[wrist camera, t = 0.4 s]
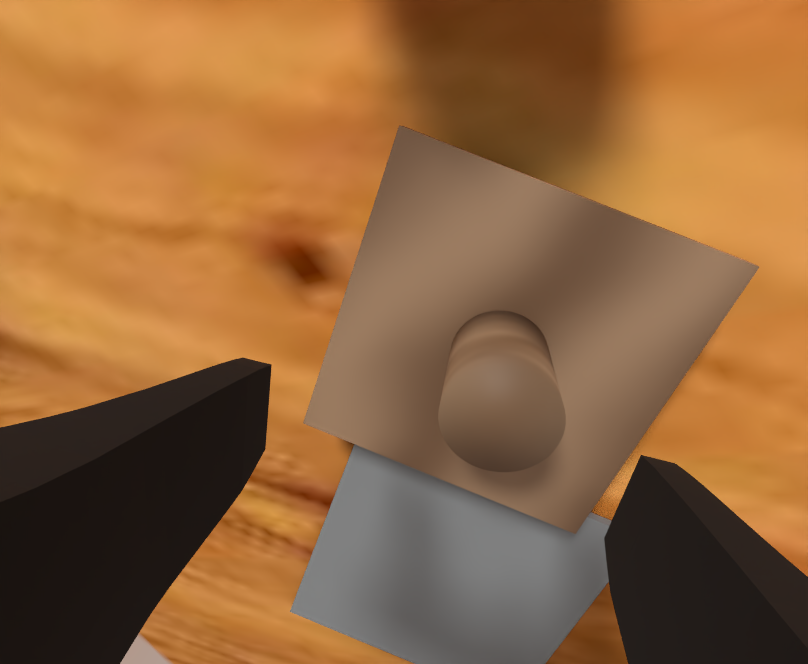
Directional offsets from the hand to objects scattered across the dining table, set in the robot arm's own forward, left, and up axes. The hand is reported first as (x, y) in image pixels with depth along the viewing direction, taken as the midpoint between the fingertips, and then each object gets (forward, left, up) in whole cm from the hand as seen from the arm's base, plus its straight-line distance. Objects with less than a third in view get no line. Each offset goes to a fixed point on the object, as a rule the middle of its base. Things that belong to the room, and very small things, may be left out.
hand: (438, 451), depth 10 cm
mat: (-5, +14, -10) cm, 18 cm away
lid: (-2, +1, -8) cm, 8 cm away
